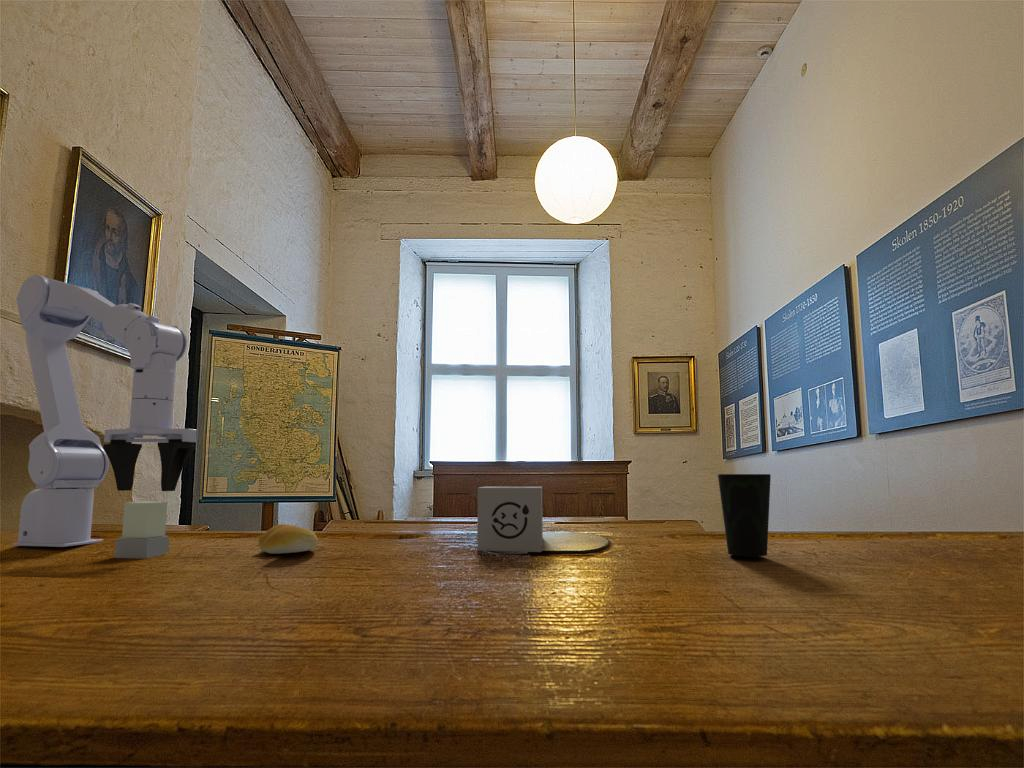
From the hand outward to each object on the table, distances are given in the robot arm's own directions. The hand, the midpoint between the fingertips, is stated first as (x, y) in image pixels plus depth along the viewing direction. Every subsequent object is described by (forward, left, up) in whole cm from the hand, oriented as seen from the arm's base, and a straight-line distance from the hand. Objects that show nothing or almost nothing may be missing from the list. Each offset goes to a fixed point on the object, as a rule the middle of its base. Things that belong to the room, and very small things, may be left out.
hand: (146, 490), depth 102 cm
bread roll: (+23, +7, -10) cm, 26 cm away
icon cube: (+52, +21, -10) cm, 56 cm away
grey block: (0, 0, -10) cm, 10 cm away
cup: (+88, +21, -10) cm, 91 cm away
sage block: (0, 0, -7) cm, 7 cm away
